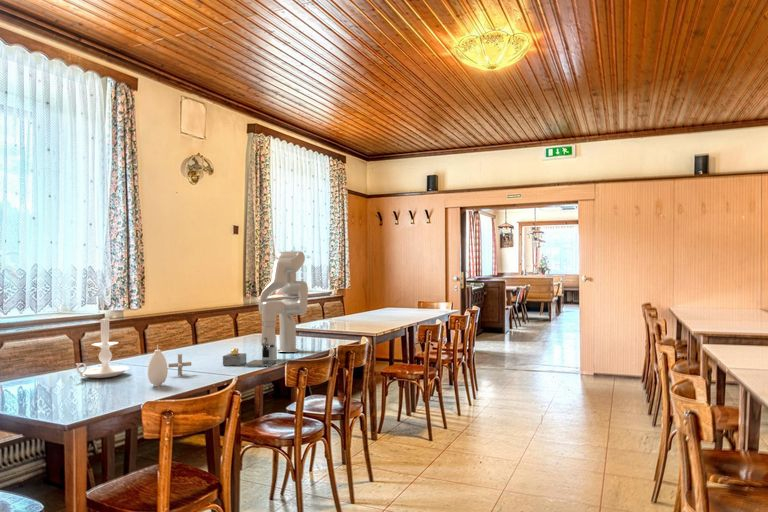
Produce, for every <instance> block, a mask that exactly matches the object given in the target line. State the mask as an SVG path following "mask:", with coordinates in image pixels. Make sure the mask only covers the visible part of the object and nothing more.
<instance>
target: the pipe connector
mask: <svg viewBox="0 0 768 512" xmlns="http://www.w3.org/2000/svg"><path fill="white" fill-rule="evenodd" d="M190 366H192V361H185V362H183V354H182V353H178V354H177V362H172V363H167V368H177V376H178V375H182V376H183V367H190Z"/></svg>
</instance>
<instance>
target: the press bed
mask: <svg viewBox="0 0 768 512" xmlns="http://www.w3.org/2000/svg"><path fill="white" fill-rule="evenodd" d="M276 361H277V360H262V359H252V360H250V361H249V362H246V363H245V364H244V367H245V366H269V365H271V364H273V363H275V362H276ZM275 364H276V363H275ZM273 365H274V364H273ZM271 366H272V365H271ZM269 367H270V366H269Z"/></svg>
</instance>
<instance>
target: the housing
mask: <svg viewBox="0 0 768 512" xmlns="http://www.w3.org/2000/svg"><path fill="white" fill-rule="evenodd" d="M268 350H269V357H263V347H262V348H261V360H275V359H277V356H278V355H277V353H278V352H277V350H278V348H277V346H275V347H270V346H269V348H268Z"/></svg>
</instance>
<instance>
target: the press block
mask: <svg viewBox="0 0 768 512" xmlns="http://www.w3.org/2000/svg"><path fill="white" fill-rule="evenodd" d="M245 362H246V363H247V353H244V352H243V353H239V352H238V355H231V352H230V353H227V354H225V355H223V356H222V366H223V365H241V364H243V363H245ZM246 363H245V364H246ZM243 365H244V364H243ZM241 366H242V365H241Z"/></svg>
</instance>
